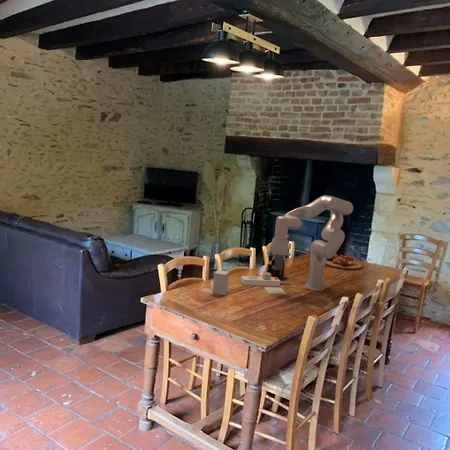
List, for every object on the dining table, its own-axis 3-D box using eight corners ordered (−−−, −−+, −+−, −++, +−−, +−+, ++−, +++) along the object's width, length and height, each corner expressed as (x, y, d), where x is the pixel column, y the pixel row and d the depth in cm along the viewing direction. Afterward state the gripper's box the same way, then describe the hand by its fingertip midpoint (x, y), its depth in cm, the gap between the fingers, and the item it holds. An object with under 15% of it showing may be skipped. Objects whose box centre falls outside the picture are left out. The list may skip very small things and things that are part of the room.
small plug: (268, 280, 274) (269, 272, 273) (270, 282, 270) (271, 274, 269) (262, 279, 273) (263, 272, 272) (264, 281, 269) (265, 274, 269)
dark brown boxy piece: (265, 277, 286) (267, 263, 285) (269, 274, 296) (271, 260, 294) (280, 280, 283) (281, 266, 281) (283, 276, 292) (285, 263, 290)
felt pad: (281, 288, 265) (281, 287, 265) (285, 294, 254) (286, 293, 254) (264, 288, 263) (264, 287, 263) (268, 293, 252) (268, 293, 252)
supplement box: (227, 292, 250) (229, 271, 248) (223, 295, 243) (225, 274, 241) (216, 289, 252) (218, 269, 250) (211, 293, 245) (213, 272, 243)
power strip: (288, 282, 278) (289, 276, 278) (291, 286, 271) (292, 280, 270) (241, 281, 273) (241, 274, 273) (243, 285, 266) (243, 278, 265)
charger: (279, 267, 259) (281, 254, 258) (282, 270, 254) (283, 256, 253) (272, 267, 258) (273, 254, 257) (274, 269, 253) (275, 256, 252)
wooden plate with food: (359, 273, 320) (361, 262, 319) (318, 265, 331) (319, 255, 330) (362, 265, 349) (364, 255, 348) (324, 258, 361) (325, 248, 359)
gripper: (292, 236, 258) (289, 264, 261) (265, 234, 255) (262, 263, 258) (296, 238, 250) (292, 268, 254) (268, 237, 248) (265, 266, 251)
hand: (277, 265), depth 256 cm, fingers closed on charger, 5 cm apart
